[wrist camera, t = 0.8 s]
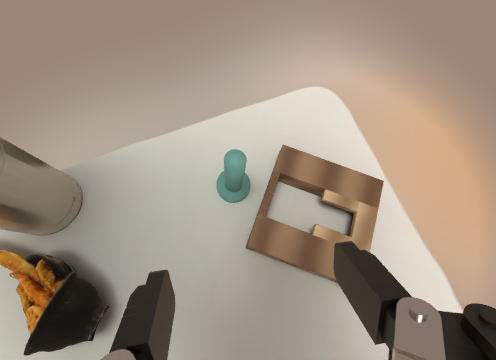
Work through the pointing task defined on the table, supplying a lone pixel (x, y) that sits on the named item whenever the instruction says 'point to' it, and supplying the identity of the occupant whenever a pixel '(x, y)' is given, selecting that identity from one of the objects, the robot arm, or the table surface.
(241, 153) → the peg
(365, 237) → the keyhole plate
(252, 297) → the table surface
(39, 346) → the black fries container
